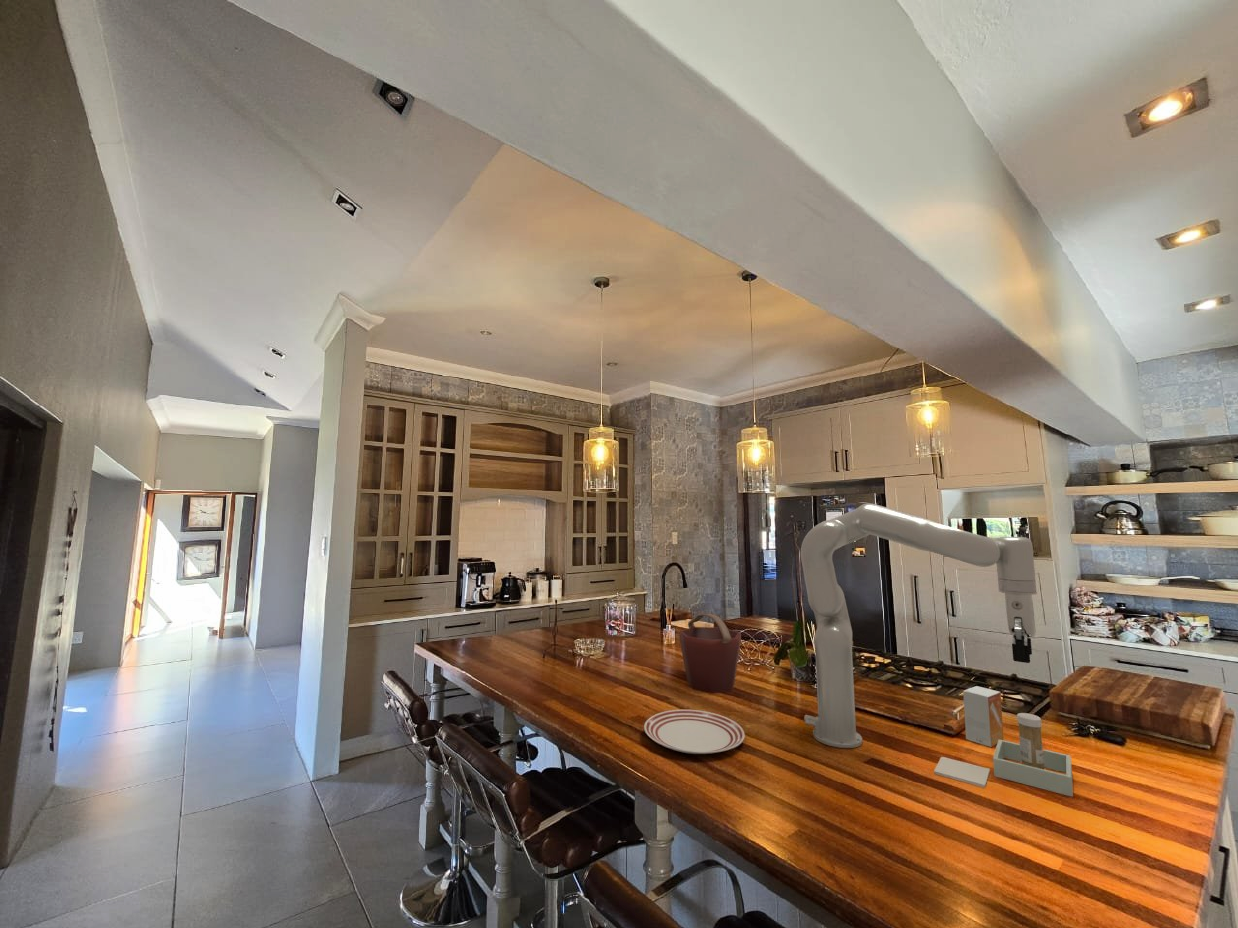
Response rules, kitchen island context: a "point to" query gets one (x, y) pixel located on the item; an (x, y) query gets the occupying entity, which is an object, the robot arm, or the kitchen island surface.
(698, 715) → the dinner plate
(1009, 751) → the tray
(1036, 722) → the sprinkles bottle
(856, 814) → the kitchen island surface
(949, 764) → the tile
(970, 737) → the small box
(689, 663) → the bucket
